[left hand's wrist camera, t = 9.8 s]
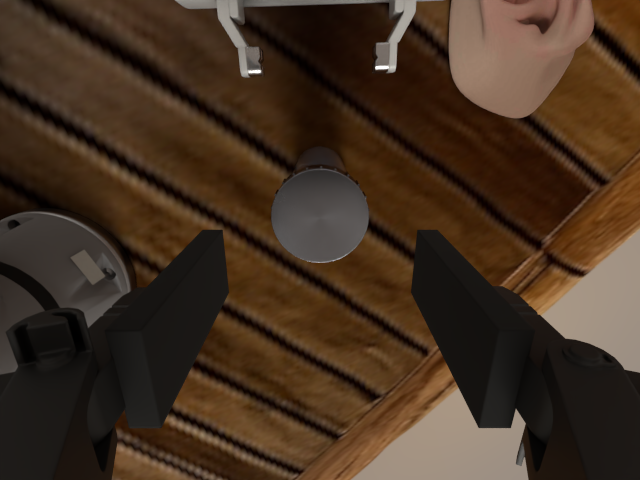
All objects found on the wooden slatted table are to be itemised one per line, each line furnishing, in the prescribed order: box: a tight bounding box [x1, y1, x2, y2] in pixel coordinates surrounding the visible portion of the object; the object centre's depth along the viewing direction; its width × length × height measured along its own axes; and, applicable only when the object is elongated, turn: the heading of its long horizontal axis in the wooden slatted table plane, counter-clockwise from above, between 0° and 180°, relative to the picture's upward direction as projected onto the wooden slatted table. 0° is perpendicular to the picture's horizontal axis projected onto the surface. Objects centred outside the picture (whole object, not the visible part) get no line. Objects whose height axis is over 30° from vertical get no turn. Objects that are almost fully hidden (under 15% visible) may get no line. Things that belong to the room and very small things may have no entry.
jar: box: [293, 146, 346, 172], centre depth 27 cm, size 5×5×15 cm
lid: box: [271, 163, 369, 263], centre depth 20 cm, size 6×6×2 cm
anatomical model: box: [449, 0, 594, 118], centre depth 28 cm, size 13×4×12 cm
